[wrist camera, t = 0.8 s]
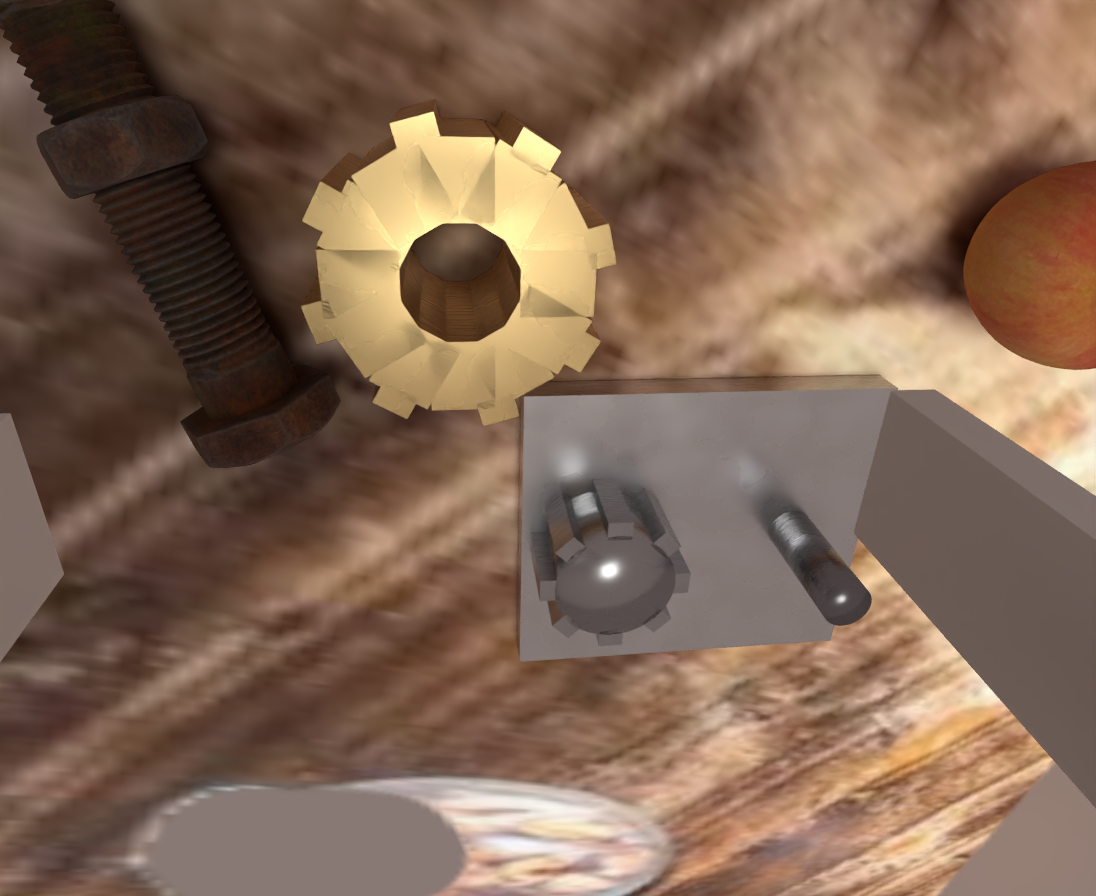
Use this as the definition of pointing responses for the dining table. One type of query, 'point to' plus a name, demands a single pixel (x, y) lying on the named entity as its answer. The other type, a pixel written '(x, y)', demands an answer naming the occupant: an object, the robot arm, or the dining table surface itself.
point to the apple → (1039, 269)
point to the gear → (456, 306)
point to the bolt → (164, 226)
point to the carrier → (691, 512)
